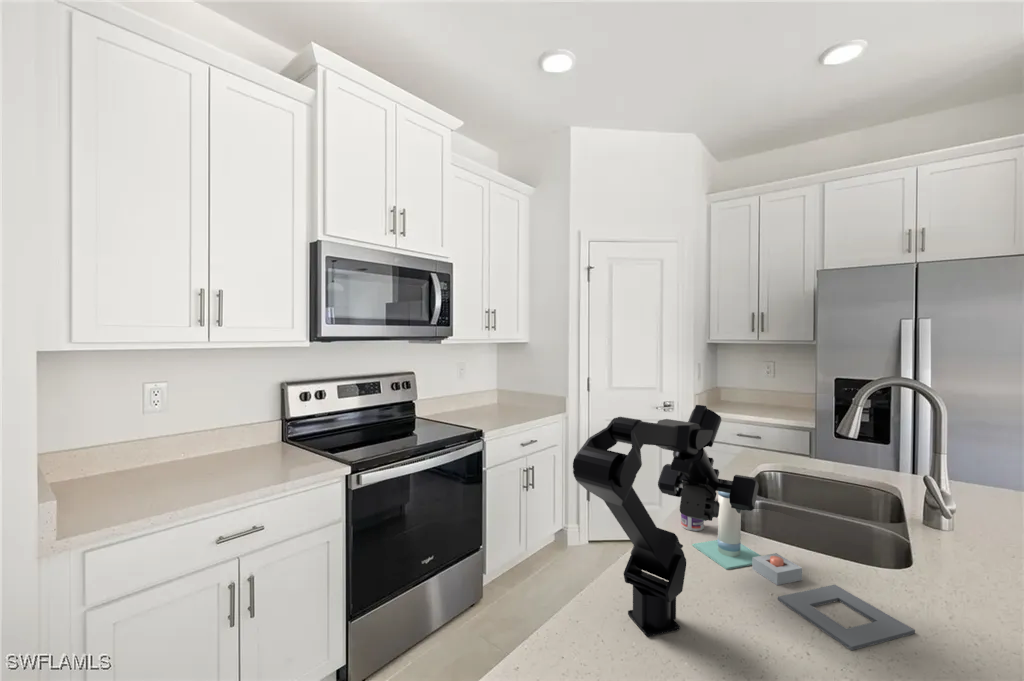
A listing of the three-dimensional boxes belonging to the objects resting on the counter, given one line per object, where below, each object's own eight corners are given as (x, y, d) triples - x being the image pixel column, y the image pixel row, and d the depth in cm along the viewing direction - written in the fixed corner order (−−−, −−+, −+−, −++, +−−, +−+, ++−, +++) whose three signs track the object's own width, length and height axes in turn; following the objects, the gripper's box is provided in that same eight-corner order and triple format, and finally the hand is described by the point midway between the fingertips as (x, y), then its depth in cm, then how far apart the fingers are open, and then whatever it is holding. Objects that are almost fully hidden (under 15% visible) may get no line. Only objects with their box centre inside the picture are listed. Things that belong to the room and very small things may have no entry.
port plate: (851, 650, 73) (851, 646, 73) (777, 599, 86) (777, 596, 86) (914, 633, 76) (915, 629, 76) (834, 587, 90) (834, 584, 90)
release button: (776, 574, 93) (776, 562, 93) (767, 568, 95) (767, 556, 95) (786, 572, 94) (786, 560, 94) (776, 566, 96) (776, 555, 96)
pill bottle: (705, 525, 118) (705, 487, 118) (701, 533, 113) (701, 494, 113) (683, 520, 121) (683, 484, 121) (678, 528, 116) (678, 490, 116)
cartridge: (739, 559, 100) (740, 495, 100) (716, 553, 103) (716, 491, 102) (741, 550, 104) (742, 489, 104) (719, 544, 107) (719, 485, 106)
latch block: (777, 585, 91) (777, 572, 91) (752, 569, 97) (752, 557, 97) (802, 580, 93) (802, 567, 92) (776, 564, 99) (776, 553, 98)
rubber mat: (726, 569, 97) (726, 567, 97) (692, 545, 107) (692, 543, 107) (768, 561, 100) (768, 560, 100) (731, 539, 110) (731, 537, 110)
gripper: (638, 492, 93) (664, 530, 101) (737, 513, 80) (757, 554, 88) (655, 446, 98) (678, 485, 106) (749, 459, 86) (767, 502, 94)
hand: (716, 506), depth 98 cm, fingers open, 9 cm apart
